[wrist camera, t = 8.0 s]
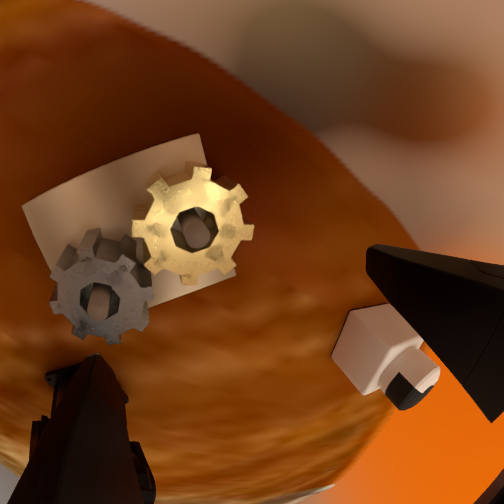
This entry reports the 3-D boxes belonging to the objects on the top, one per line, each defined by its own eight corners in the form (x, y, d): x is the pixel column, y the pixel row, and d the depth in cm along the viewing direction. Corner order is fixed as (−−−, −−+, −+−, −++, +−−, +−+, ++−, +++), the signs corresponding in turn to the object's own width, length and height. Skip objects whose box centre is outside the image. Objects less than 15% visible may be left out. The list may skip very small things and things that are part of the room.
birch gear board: (88, 320, 18) (81, 368, 14) (28, 201, 13) (-7, 227, 9) (231, 267, 21) (257, 307, 16) (195, 133, 16) (215, 133, 11)
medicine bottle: (368, 345, 34) (424, 402, 24) (329, 357, 31) (387, 427, 21) (388, 302, 31) (456, 358, 21) (348, 309, 28) (424, 381, 18)
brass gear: (155, 274, 17) (159, 299, 15) (121, 183, 14) (115, 194, 12) (244, 241, 19) (261, 260, 16) (223, 149, 16) (239, 153, 13)
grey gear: (97, 328, 17) (94, 356, 15) (43, 261, 14) (29, 284, 11) (167, 288, 18) (173, 314, 16) (117, 210, 15) (112, 226, 12)
